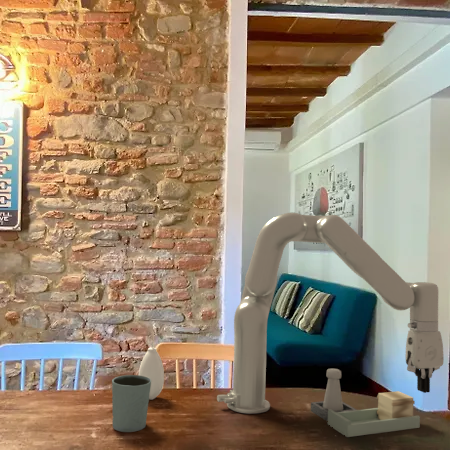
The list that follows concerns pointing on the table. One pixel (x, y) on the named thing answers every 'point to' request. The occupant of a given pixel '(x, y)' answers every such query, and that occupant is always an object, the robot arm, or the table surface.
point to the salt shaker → (333, 391)
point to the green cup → (130, 402)
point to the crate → (394, 405)
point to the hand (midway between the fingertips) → (423, 391)
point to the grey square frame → (323, 413)
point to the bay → (368, 422)
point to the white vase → (153, 371)
